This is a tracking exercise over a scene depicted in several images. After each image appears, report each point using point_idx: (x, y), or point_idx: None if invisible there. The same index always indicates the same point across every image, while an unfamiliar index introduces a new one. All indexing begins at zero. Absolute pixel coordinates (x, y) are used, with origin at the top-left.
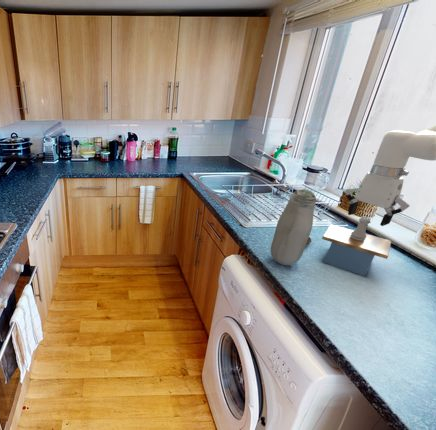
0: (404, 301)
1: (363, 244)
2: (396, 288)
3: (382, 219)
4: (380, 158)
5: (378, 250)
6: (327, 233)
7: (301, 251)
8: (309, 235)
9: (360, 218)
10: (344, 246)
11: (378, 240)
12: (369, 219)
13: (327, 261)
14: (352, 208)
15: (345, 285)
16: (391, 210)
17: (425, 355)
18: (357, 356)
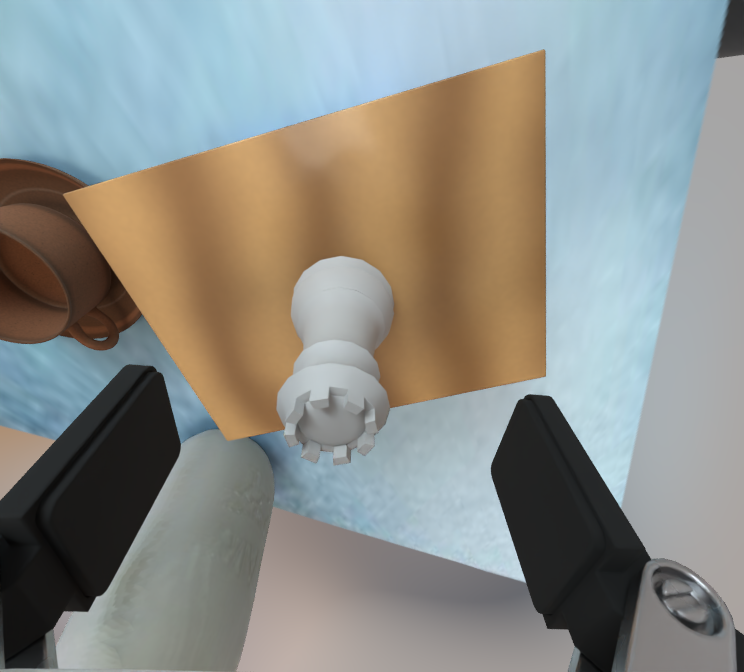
0: (585, 337)
1: (407, 353)
2: (560, 271)
3: (513, 539)
4: None
5: (492, 356)
6: (208, 391)
7: (268, 524)
8: (240, 582)
9: (287, 426)
10: None
11: (457, 175)
12: (371, 432)
13: None
14: (133, 539)
15: (422, 405)
16: (655, 649)
17: (614, 493)
18: (513, 564)
